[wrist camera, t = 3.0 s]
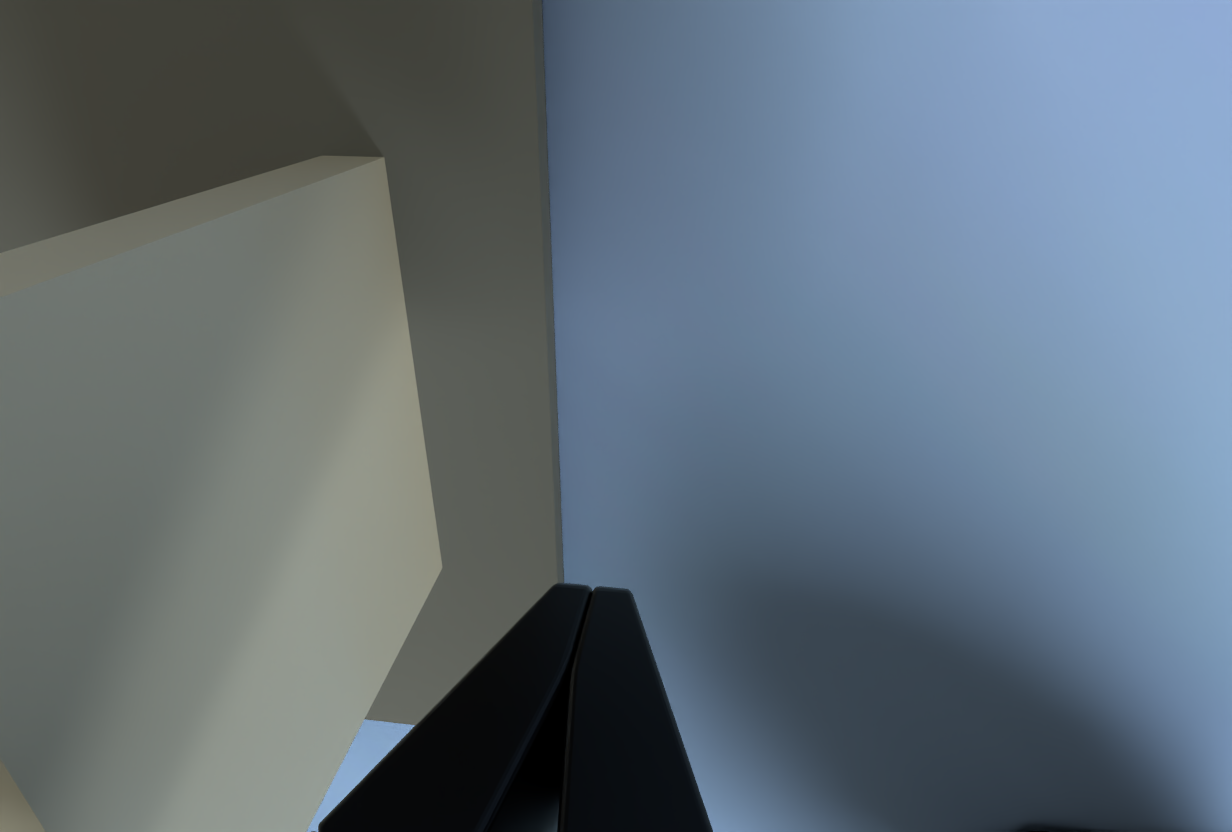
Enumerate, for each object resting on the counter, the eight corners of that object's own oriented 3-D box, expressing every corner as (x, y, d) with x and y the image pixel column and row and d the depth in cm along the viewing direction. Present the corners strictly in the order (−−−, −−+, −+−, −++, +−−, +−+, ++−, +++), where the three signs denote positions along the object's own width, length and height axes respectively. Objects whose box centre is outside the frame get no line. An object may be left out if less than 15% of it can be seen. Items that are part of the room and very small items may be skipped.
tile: (384, 157, 11) (-234, 382, 4) (442, 567, 15) (189, 1060, 8) (309, 154, 11) (-424, 370, 4) (386, 562, 15) (85, 1042, 8)
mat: (531, -277, 9) (520, -297, 8) (569, 720, 17) (564, 742, 17) (-539, -232, 10) (-607, -247, 10) (-22, 654, 19) (-43, 672, 18)
